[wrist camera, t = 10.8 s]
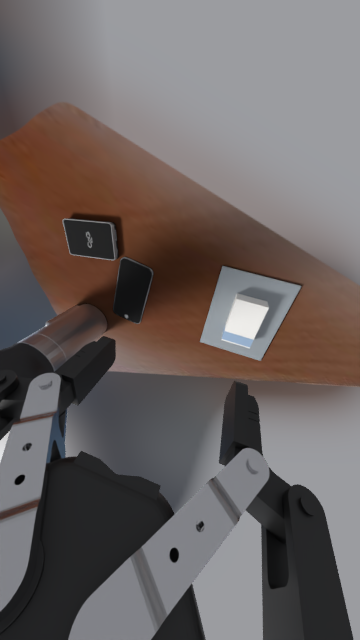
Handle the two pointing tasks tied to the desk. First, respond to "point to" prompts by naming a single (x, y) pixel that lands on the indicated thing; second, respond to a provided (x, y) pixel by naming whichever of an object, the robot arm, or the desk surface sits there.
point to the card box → (244, 320)
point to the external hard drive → (91, 238)
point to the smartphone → (132, 289)
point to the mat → (252, 286)
